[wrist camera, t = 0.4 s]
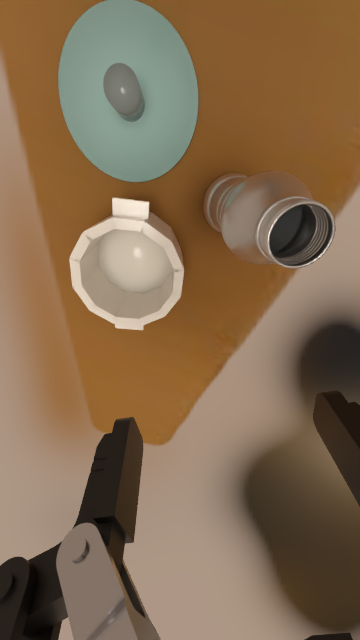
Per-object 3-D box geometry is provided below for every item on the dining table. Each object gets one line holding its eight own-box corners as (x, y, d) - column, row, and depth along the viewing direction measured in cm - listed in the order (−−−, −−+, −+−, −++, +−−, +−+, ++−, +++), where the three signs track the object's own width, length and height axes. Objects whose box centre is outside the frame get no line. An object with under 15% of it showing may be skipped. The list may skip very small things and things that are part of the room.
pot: (87, 189, 29) (61, 193, 22) (187, 201, 30) (191, 209, 23) (95, 303, 37) (77, 332, 30) (174, 309, 38) (175, 339, 31)
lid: (52, -9, 22) (15, -68, 16) (207, 20, 23) (218, -26, 18) (70, 173, 29) (48, 173, 23) (188, 189, 30) (192, 191, 25)
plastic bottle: (245, 234, 32) (331, 298, 15) (195, 225, 32) (225, 284, 14) (261, 178, 29) (392, 180, 12) (206, 168, 28) (260, 153, 11)
